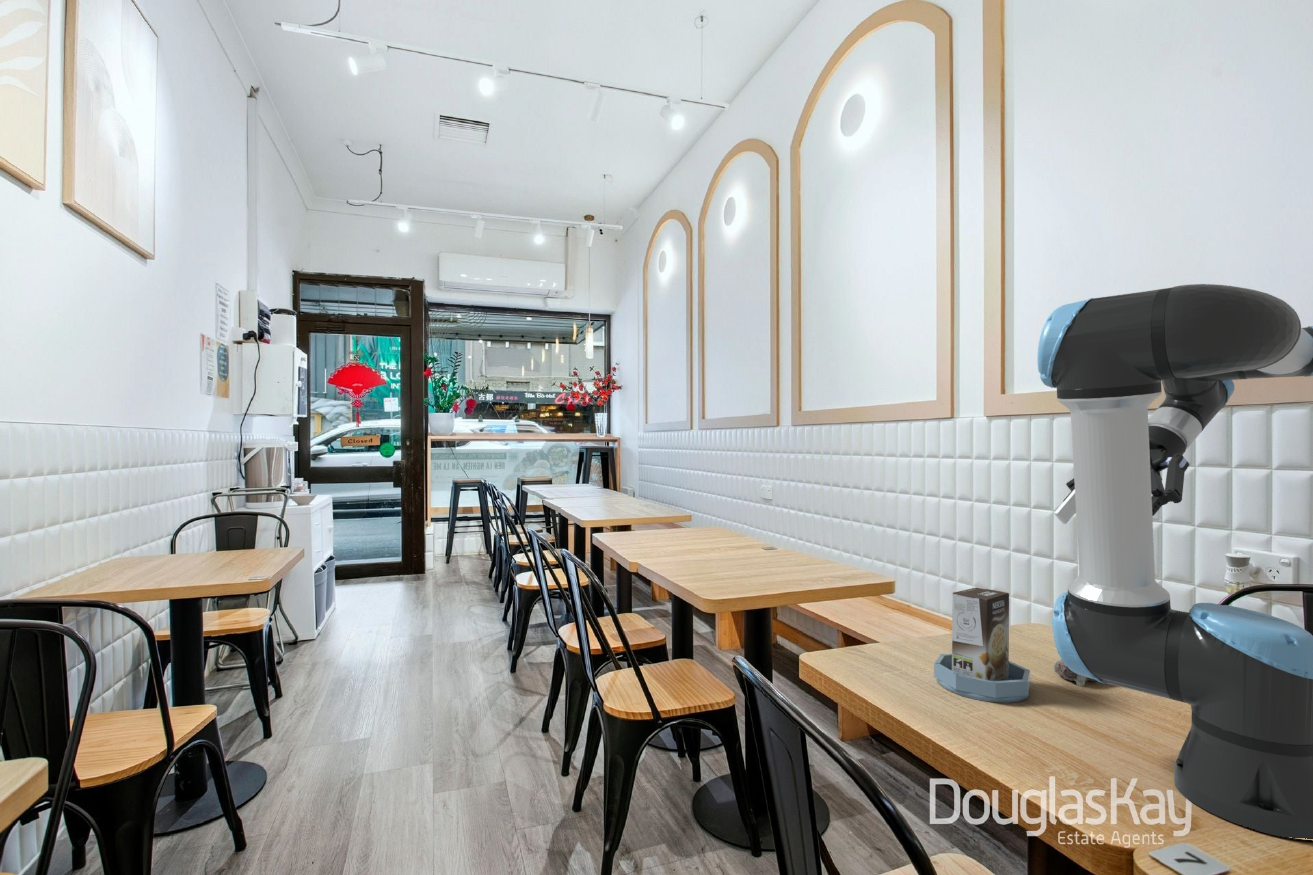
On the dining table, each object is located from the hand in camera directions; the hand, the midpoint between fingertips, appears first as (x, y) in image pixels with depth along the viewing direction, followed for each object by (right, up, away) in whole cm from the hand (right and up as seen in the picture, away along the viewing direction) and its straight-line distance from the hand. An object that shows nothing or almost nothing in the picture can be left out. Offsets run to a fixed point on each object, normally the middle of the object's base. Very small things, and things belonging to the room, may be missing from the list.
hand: (1091, 523), depth 109 cm
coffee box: (-16, -30, +6) cm, 35 cm away
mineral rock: (+6, -31, +11) cm, 34 cm away
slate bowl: (-16, -31, +6) cm, 35 cm away
